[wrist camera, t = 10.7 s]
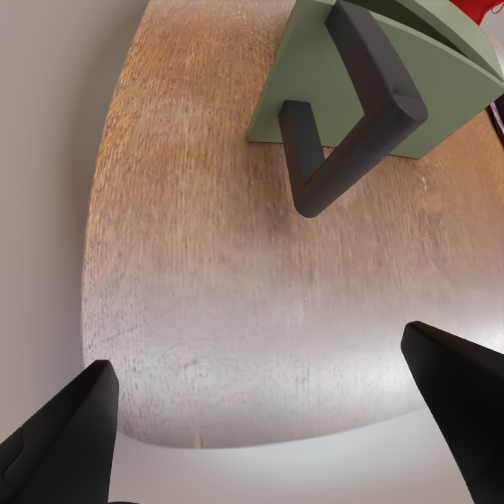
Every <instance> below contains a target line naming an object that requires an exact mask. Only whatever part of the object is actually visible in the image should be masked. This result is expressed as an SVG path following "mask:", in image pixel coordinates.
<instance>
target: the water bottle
mask: <svg viewBox="0 0 504 504" xmlns="http://www.w3.org/2000/svg"><path fill="white" fill-rule="evenodd" d="M449 1H450V2H451V3H453V4H454V5H455V6H456V7H458V8H459V9H460V10H461V11H462V12H463V13H465V14H466V15H467V16H468V17H469V18H470V19H471V20H473V21H474V22H475V23H476V24H477V25H478V26H479V25H480V23H481V21H482V19H483V17H484V15H485V14H486V13H487V12H488V11H489V10H490V9H491V11H492V9H493V7H495V6H497V5H499V4H501V3H503V2H504V0H449ZM503 6H504V4H503ZM503 6H502V7H501V9H502V8H503ZM501 9H500V10H501ZM500 10H499V11H498V12H500ZM498 12H496V13H498ZM496 13H494V14H496Z"/></svg>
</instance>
